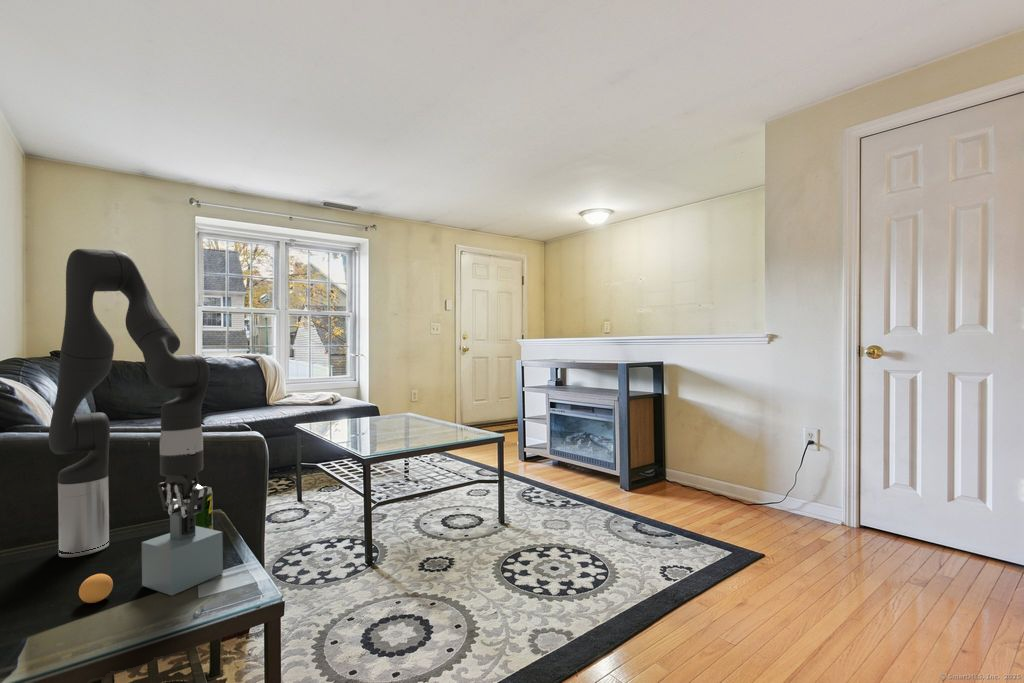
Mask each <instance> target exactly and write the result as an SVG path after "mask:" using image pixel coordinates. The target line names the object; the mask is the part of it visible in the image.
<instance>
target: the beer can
mask: <svg viewBox="0 0 1024 683" xmlns="http://www.w3.org/2000/svg"><path fill="white" fill-rule="evenodd" d="M207 488H208V491H207V495H206V499H205V503H204V507H203V511H202V512H200V513H197V514H195V526H199V527H203V528H208V529H212V530H214V516H213V515H214V514H213V513H214V512H213V511H214V509H213V508H214V507H213V504H214V502H213V498H214V497H213V490H212V487H210V486H207ZM188 500H190V499H188ZM188 506H189V505H188ZM197 506H198V505H197Z"/></svg>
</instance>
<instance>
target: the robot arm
mask: <svg viewBox="0 0 1024 683" xmlns="http://www.w3.org/2000/svg"><path fill="white" fill-rule="evenodd" d="M95 292H97V293H99V292H120V293H122V294H123V295H124V296H125V297H126V298H127V299H128V306H127V311H126V315H125V328H126V331H127V333H128V335H129V336H130V338H131V339H132V340H133V342H134V343H135V345H136V346H137V347H138V348H139V349H140V352H141V353H142V356H143V358H144V363H145V366H146V370H147V373H148V374H147V375H148V377H149V379H150V381H151V383H153V384H154V385H155V386H157V387H158V388H161V389H163V390H175V389H180V390H179V392H178V395H177V397H175V398H174V399H171V400H168V401H166V402H164V403H162V405H161V407H160V436H159V474H160V475H161V476H163V477H166V478H165V481H164V482H159V483H158V484H157V489H158V492H159V497H160V500H161V502H160V503H161V505H162V509H163V511H167V512H168V515H169V516H170V514H173V513H176V512H179V511H181V512H182V517H183V518H182V535H185V536H186V535H189V534H192V533H194V532H195V514H197V513H200V512H202V511H203V507H204V503H205V499H206V495H207V491H208V488H207V487H208V486H206V485H205V486H201V485H200V483H199V482H200V480H199V477H198V474H199V472H201V471H203V469H204V434H203V429H202V406H203V402H204V399H205V396H206V393H207V392H206V391H207V388H208V386H209V382H210V377H211V370H210V368H211V367H210V366H209V363H208V361H207V360H206V359H205V358H204V357H203V356H202V355H199V354H175V353H176V352H178V351H179V349H180V347H181V341H180V338H179V337H178V335H177V333H176V332H175V331H174V329H173V328H172V327H171V325H170V324H169V323H168V321H166V319H165V317H163V315H162V314H161V312H160V310H159V309H158V307H157V305H156V303H155V301H154V299H153V297H152V295H151V292H150V290H149V289H148V286H147V285H146V283H145V280H144V278H143V277H142V275H141V272H140V271H139V268H138V267H137V264H136V263H135V261H134V260H133V259H132V258H131V257H130V255H129V254H127V253H125V252H123V251H120V250H112V249H111V250H110V249H108V250H107V249H96V248H95V249H92V248H77V249H75V250H72V251H71V252H70V254H69V255H68V258H67V262H66V268H65V316H64V317H65V318H64V327H63V334H62V335H63V336H62V341H61V347H60V354H59V365H58V377H57V389H56V397H55V401H54V406H53V410H52V416H51V420H50V423H49V424H50V425H49V430H48V446H49V449H50V451H51V452H52V453H53V454H55V455H66V454H67V455H68V454H74V453H75V454H77V453H81V452H88V454H87V456H85V457H84V458H82V459H81V460H80V461H77V462H75V463H73V464H72V465H68V466H67V467H64V468H62V469H61V470H60V471H58V473H57V495H58V497H57V498H58V501H57V502H58V504H57V505H58V507H57V508H58V551H59V550H60V551H63V552H69V553H70V552H71V553H74V554H61V553H59V552H58V557H59V558H75V557H81V556H87V555H90V554H94V553H97V552H100V551H102V550H105V549H106V548H108V547H109V546H110V509H109V508H110V506H109V505H110V504H109V501H110V498H109V492H110V491H109V460H110V458H109V455H110V453H109V452H110V435H111V425H110V420H109V417H108V416H107V414H106V413H104V412H88V413H87V412H86V413H76V411H77V409H78V408H79V406H80V404H81V403H82V402H83V400H85V398H86V397H87V396H88V395H89V394H90V393H91V392H92V391H94V390H95V388H97V387H98V386H99V385H100V384H101V383H102V382H103V381H104V380H105V379H106V377H107V376H108V374H110V371H111V369H112V364H113V360H114V359H113V358H114V353H115V352H114V351H115V343H114V341H113V340H114V339H113V338H112V336H111V335H110V333H109V332H108V331H107V329H106V327H105V326H104V325H103V324H102V322H101V321H100V319H99V318H98V316H97V315H96V313H95V310H94V294H95ZM187 499H190V500H188V501H186V500H187ZM187 505H189V506H188V510H187ZM197 505H198V506H197ZM108 541H109V542H108ZM107 542H108V543H107ZM106 543H107V544H106ZM104 544H105V545H104ZM102 545H104V546H102ZM100 546H101V547H100ZM97 547H99V548H97ZM93 548H96V549H93ZM89 549H93V550H89ZM85 550H89V551H85ZM81 551H85V552H81ZM75 552H80V553H75Z"/></svg>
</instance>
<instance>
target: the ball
mask: <svg viewBox="0 0 1024 683" xmlns="http://www.w3.org/2000/svg"><path fill="white" fill-rule="evenodd" d="M113 587H114V582H113V579H112V578H111V576H109V574H105V573H96V574H94V575H93V574H92V575H91V576H89V577H88V578H87V577H86V579H85V580H84V581H83V582H82V583H81V585H80V586H79V590H78V596H79V598H80V599H81V601H83V602H84V603H88V604H95V603H98V602H100V601H102V600H104V599H106V598H107V597H108V596H109V595H110V593H111V592H112V590H113Z"/></svg>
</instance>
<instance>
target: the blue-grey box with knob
mask: <svg viewBox="0 0 1024 683" xmlns="http://www.w3.org/2000/svg"><path fill="white" fill-rule="evenodd" d="M182 518H183V517H182V512H181V511H179V512H176V513H173V514H170V515H169V532H168V533H165V534H162V535H160V536H156V537H153V538H150V539H148V540H145V541H141V586H142V587H145V588H148V589H150V590H153V591H157V592H159V593H163V594H166V595H168V596H174V595H177V594H179V593H181V592H184V591H186V590H188V589H191V588H192V587H196V586H197V585H200V584H202V583H204V582H206V581H208V580H209V581H210V579H213V578H215V577H218V576H220V575H222V574H224V559H223V557H224V556H223V549H224V548H223V545H224V542H223V531H220V530H216V529H213V530H212V529H208V528H203V527H199V526H195V532H194V533H192V534H189V535H186V536H185V535H182Z"/></svg>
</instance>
